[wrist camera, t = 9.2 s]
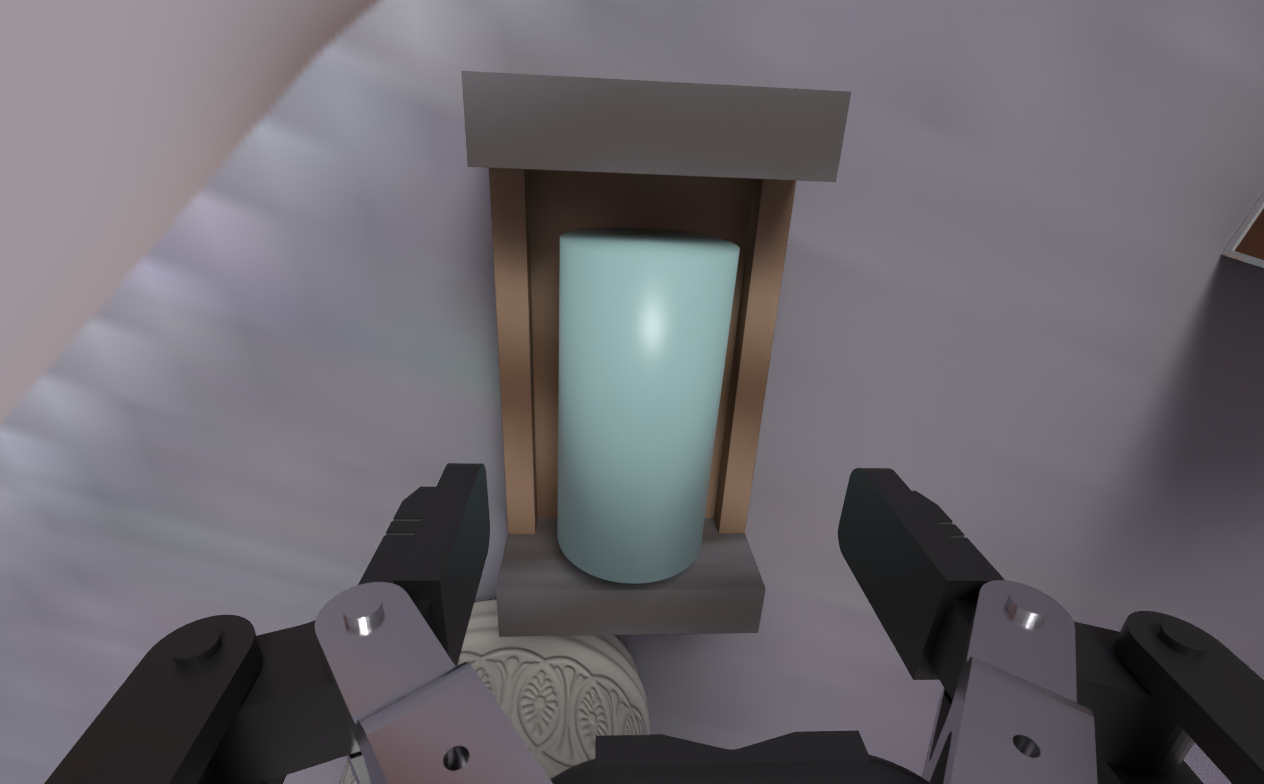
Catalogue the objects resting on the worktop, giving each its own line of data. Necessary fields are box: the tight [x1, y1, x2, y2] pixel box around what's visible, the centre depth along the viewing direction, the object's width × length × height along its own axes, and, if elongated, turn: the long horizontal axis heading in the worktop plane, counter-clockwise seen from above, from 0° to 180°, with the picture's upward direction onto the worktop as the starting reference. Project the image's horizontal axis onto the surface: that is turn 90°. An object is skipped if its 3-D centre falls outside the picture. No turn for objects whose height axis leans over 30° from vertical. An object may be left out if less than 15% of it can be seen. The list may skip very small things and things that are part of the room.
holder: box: [462, 71, 851, 637], centre depth 19 cm, size 17×9×6 cm, turn 178°
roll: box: [557, 227, 740, 584], centre depth 18 cm, size 10×5×5 cm
